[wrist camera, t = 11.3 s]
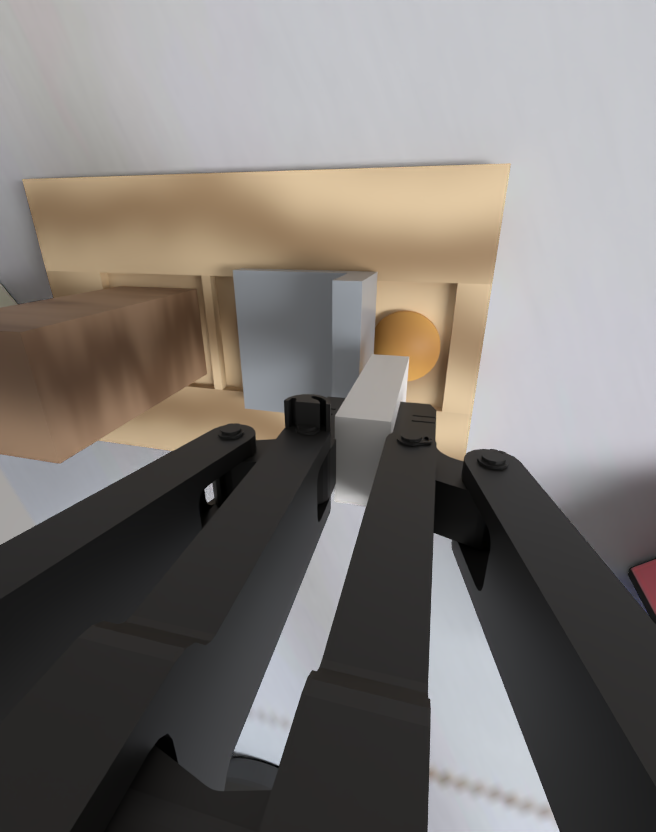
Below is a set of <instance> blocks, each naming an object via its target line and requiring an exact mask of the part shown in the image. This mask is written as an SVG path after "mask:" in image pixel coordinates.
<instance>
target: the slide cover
mask: <svg viewBox="0 0 656 832" xmlns="http://www.w3.org/2000/svg"><path fill="white" fill-rule="evenodd" d="M377 273H378V272H369V271H330V270H290V269H250V268H240V269H235V270H233V279H234V290H235V301H236V313H237V324H238V335H239V347H240V358H241V370H242V381H243V392H244V404H245V409H254V410H263V411H272V412H282V413H284V400H285V399H287V398H288V397H291V396H295V395H301V394H315V395H321V396H324V397H328V396H329V397H340V398H346V397H347V395H348V393H349V392H350V390H351V388H352V387H353V385H354V383H355V382H356V380H357V378H358V377H359V375H360V373H361V372H362V370H363V368H364V367H365V365H366V363H367V362H368V360H369V358H370V357H371V355H372V354H374V337H375V316H376V294H377Z"/></svg>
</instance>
